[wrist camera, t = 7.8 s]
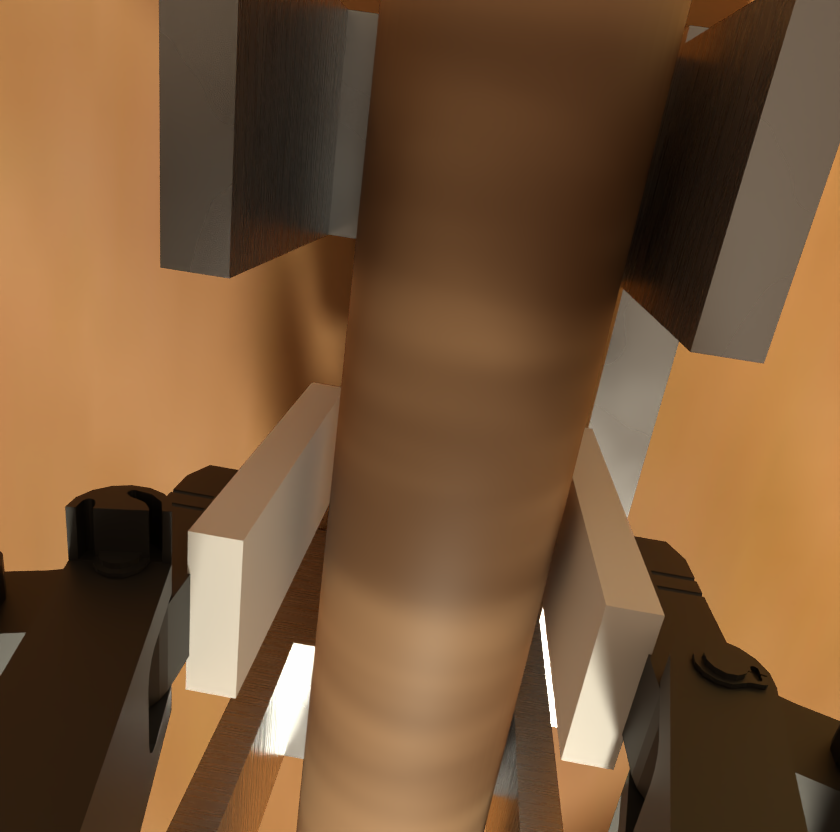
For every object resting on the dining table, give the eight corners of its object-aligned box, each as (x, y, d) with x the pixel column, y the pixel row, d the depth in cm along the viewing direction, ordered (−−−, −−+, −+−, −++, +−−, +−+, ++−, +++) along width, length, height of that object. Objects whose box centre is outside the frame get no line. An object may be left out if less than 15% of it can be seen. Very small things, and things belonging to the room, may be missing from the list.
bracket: (362, -9, 15) (158, -286, 6) (746, 46, 15) (1188, -157, 5) (301, 652, 22) (163, 1010, 13) (561, 699, 22) (616, 1103, 12)
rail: (466, -39, 11) (328, -150, 8) (721, -32, 9) (693, -168, 6) (351, 786, 18) (252, 923, 14) (487, 866, 16) (413, 1040, 13)
